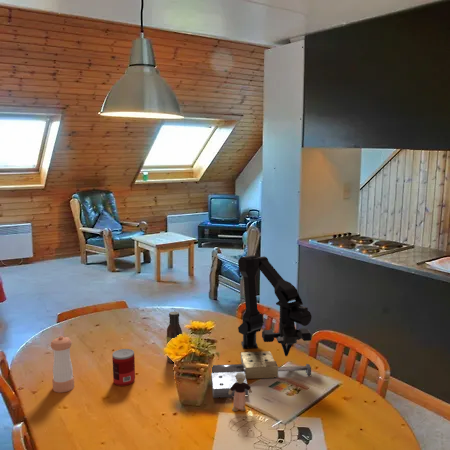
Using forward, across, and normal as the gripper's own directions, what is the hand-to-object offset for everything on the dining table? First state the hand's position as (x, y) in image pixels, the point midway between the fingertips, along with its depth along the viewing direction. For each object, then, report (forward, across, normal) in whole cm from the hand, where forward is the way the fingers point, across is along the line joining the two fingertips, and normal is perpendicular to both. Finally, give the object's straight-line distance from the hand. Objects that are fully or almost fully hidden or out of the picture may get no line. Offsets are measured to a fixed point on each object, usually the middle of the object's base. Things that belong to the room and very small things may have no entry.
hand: (286, 355), depth 186 cm
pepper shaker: (+4, -83, -12) cm, 84 cm away
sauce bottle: (+4, -44, +7) cm, 45 cm away
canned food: (+4, -62, -9) cm, 63 cm away
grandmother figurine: (+4, -22, -31) cm, 38 cm away
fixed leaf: (+4, -11, -15) cm, 19 cm away
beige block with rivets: (+3, -11, -3) cm, 12 cm away
